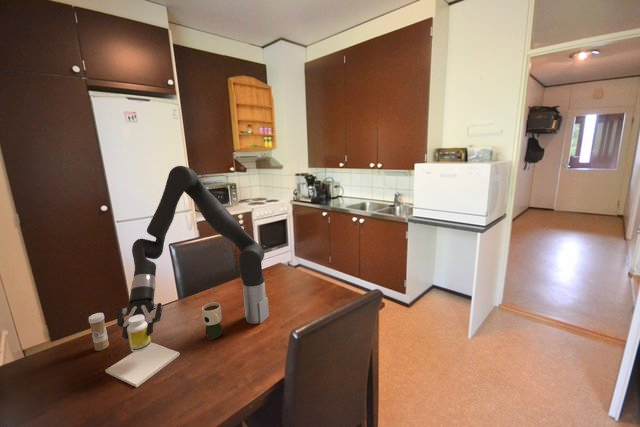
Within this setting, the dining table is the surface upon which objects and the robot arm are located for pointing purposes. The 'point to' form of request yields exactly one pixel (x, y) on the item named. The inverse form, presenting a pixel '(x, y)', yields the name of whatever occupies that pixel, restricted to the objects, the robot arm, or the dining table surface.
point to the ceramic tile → (142, 364)
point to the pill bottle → (138, 333)
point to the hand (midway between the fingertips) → (137, 337)
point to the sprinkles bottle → (98, 331)
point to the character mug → (212, 319)
